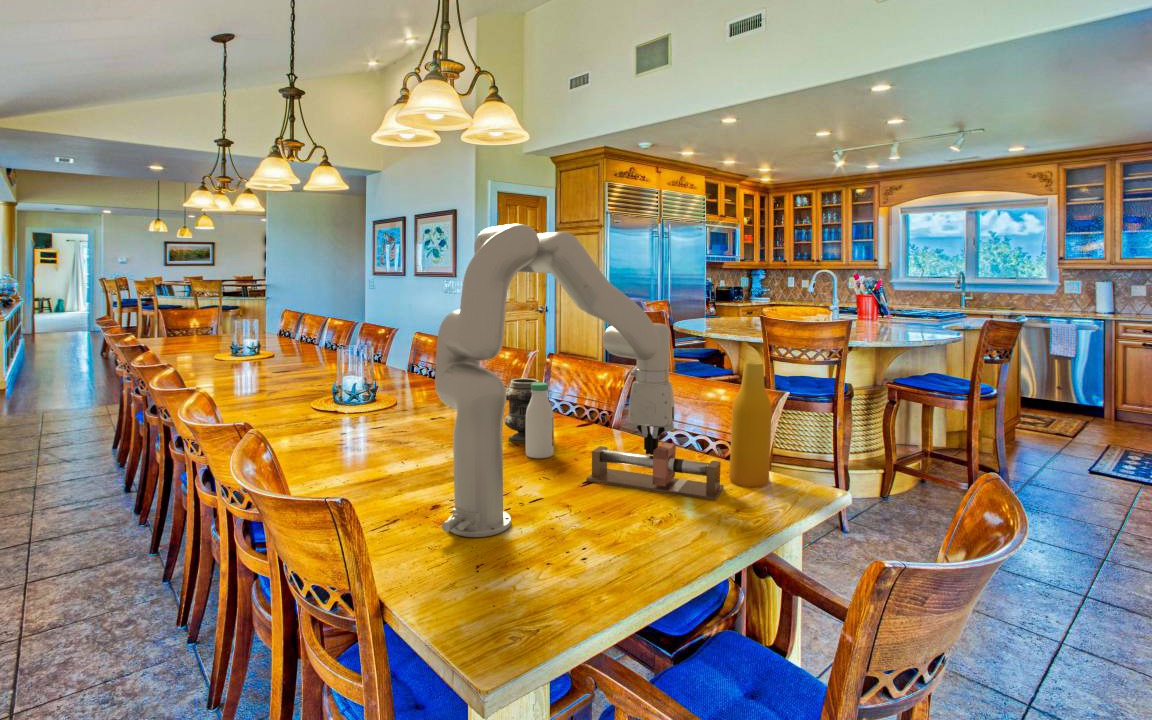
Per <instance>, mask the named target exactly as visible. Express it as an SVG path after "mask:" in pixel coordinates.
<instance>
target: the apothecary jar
mask: <svg viewBox="0 0 1152 720" xmlns="http://www.w3.org/2000/svg"><path fill="white" fill-rule="evenodd" d="M532 383H540V381H539V379H536V378H527V377H525V378H514V379H511V380H510V385H509V386H508V387H507V388H506V399H507V400H508V414H506V416H505V417H504V419H503V423H504V424H505V426H506V427H507V428H508V429H510V430H513V431H516V433H514V434H512V435H510V436H509V437H508V440H509V441H510V442H512V443H518V444H526V410H527V407H528V405H529V402H530V400H531V397H532V392H531V384H532Z"/></svg>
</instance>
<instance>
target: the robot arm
mask: <svg viewBox="0 0 1152 720" xmlns="http://www.w3.org/2000/svg"><path fill="white" fill-rule="evenodd" d="M473 247H474V248H473V251H474V255H473V257H472V258H471V260H470V261H469V263H468V265H467V268H466V270H465V273H464V277H463V281H462V286H461V287H462V289H461V297H460V304H459V305H460V307H459V309H456V310H454V311H450V313H448V314H447V315H446V316H445V317H444V319H442V322H441V324H440V326H439V329H438V333H437V341H436V353H435V354H436V356H435V375H434V377H435V378H434V383H435V386H434V387H435V391H436V394H437V397H438V398H439V400H440V401H441V402H442V403H443V404H444V405H445V406H447V407H449V408H451V409H453V410H456V417H455V422H454V425H453V426H454V427H453V433H452V435H453V437H452V451H453V452H452V453H453V487H454V491H453V492H454V508H452V515H451V516H449V517H448V518H447V520H445V521H443V522H442V524H441V529H442V531H443V532H446V533H448V532H451V533H452V534H454V535H456V536H460V537H466V538H483V537H491V536H494V535H495V536H496V535H498V534H501V533H503V532H506V530H508V529H509V528H510V527H511V526H512V517H511V515H510V514H509V513H508V512H507V511H504V458H503V457H504V456H503V455H504V453H503V451H504V450H503V449H504V448H503V432H504V431H503V429H504V427H503V426H504V425H503V424H504V419H505V417H504V416H505V411H506V405H507V397H506V390H507V388H506V386H505V383H504V382H503V381H502V379H501V378H500V376H499V375H497V374H496V373H495V372H494V371H492V370H490V369H487V368H484V367H483V366H482V367H481V366H480V365H481V361H485V362H486V361H490V360H493V359H495V358H496V357H497V356H498V355H499V354H500V352H501V350H502V348H503V344H504V336H505V333H504V332H505V323H506V322H505V320H506V319H505V318H506V304H507V298H508V291H509V286H510V284H511V283H512V280H513V279H514V277H515V275H516V274H518V272H522V273H533V274H551V275H552V276H553V277H554V279H555V280H556V281H557V283H559V285H560V287H562V289H563V290H564V291H565V292H566V294H567V295H568V297H569V298H570V299H571V300H572V301H573V303H574V304H575V306H576V307H578V308H579V309H580V310H581V311H583V312H584V313H587V314H588V315H590V316H593V317H595V318H597V319H599V320H601V321H603V322H604V323H607V324H608V325H609V327H608V328H606V330H605V331H604V333H603V336H602V344H603V347H604V349H605V350H606V351H607V352H608V353H609V354H611V355H613V356H616V357H621V358H627V359H632V360H633V359H634V360H636V368H635V369H634V370H633V369H631V371H630V375H631V377H635V380H634V381H633V382H632V383H631V384H632V385H631V389H630V396H629V401H628V402H629V404H628V417H627V418H628V421H629V427H631V428H634V429H637V430H638V431H639V432H640V434H642V435H641V436H642V437H643V440H644V441H643V449H644V450H645V455H651V456H653V451H654V450H655V449H656V448H657V447H659V436H661V435H662V434H663V433H667V432H672V431H674V430H675V423H674V421H675V398H674V391H673V385H672V382H670V352H671V351H670V349H671V348H670V347H671V346H670V345H671V331H670V327H669V325H668V324H665V323H659V322H658V323H657V322H653V321H652V320H651V318H650V317H649V315H648V314H647V313H646V312H645V310H644V309H643V308H642V307H641V306H640V305H638V304H637V303H636V301H634V300H632V299H631V298H630V297H629V296H628V295H626V294H625V293H623V292H622V290H620V289H619V288H617V287H616V286H614V285H613V284H612V283H611V282H610V281H609V280H608V279H607V278H606V276H605V275H604V273H603V272H602V271H601V270H600V268H599V267H598V265H597V264H596V263H595V261H594V259H593V258H592V257H591V256H590V254H589V253H588V251H587V250H586V249H585V247H584V246H583V244H582V243H581V242H580V240H579V239H578V238H577V237H576V236H575V235H573V234H572V233H570V232H567V231H552V232H550V231H549V232H543V233H542V232H539V233H537V231H536V230H535V229H534V228H533V227H531V226H530V225H526V224H523V223H511V224H510V223H508V224H503V225H496V226H490V227H487V228H484V229H483V230H481V231H480V233H479V234H477V236H476V238H475V240H474V246H473ZM651 427H652V429H651ZM651 430H652V431H651Z"/></svg>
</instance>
